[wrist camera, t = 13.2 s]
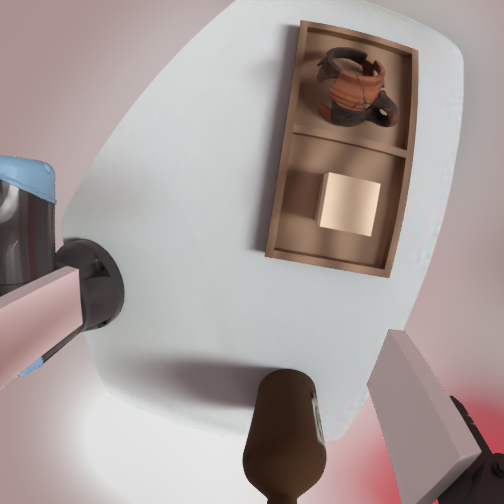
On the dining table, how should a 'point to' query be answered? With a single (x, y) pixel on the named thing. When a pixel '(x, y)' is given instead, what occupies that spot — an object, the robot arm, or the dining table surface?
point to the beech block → (347, 203)
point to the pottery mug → (356, 91)
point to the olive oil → (285, 438)
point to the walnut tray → (343, 155)
